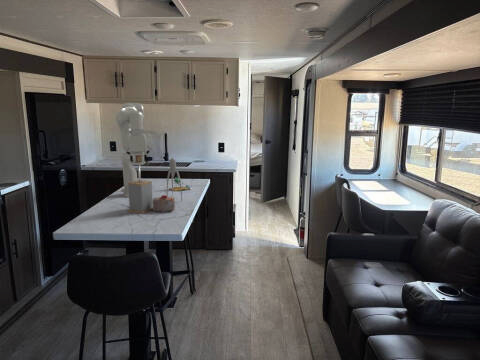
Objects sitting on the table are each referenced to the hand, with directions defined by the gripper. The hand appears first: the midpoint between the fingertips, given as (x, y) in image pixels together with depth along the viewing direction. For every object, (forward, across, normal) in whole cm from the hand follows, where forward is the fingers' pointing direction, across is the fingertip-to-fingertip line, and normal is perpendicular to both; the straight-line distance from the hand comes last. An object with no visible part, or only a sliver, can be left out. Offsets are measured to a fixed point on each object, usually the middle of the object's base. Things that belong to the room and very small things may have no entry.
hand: (138, 161), depth 220 cm
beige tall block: (+31, 0, 0) cm, 31 cm away
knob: (+21, 0, 0) cm, 21 cm away
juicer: (+31, +25, +15) cm, 42 cm away
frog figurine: (+31, +34, +47) cm, 66 cm away
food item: (+31, +13, -6) cm, 34 cm away
